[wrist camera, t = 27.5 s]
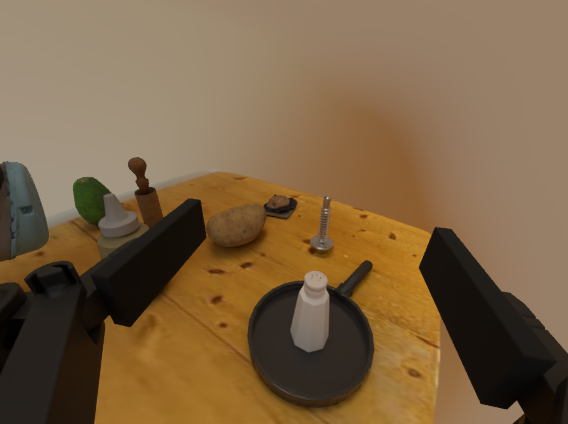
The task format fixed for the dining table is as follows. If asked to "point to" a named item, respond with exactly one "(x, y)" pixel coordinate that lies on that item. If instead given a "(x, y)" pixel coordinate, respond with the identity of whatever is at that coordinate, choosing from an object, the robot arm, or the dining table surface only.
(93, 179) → the avocado
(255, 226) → the potato
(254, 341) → the pan
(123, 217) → the squeeze bottle
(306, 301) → the salt shaker
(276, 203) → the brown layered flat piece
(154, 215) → the mortar and pestle
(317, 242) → the screw
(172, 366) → the dining table surface
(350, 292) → the pan handle
